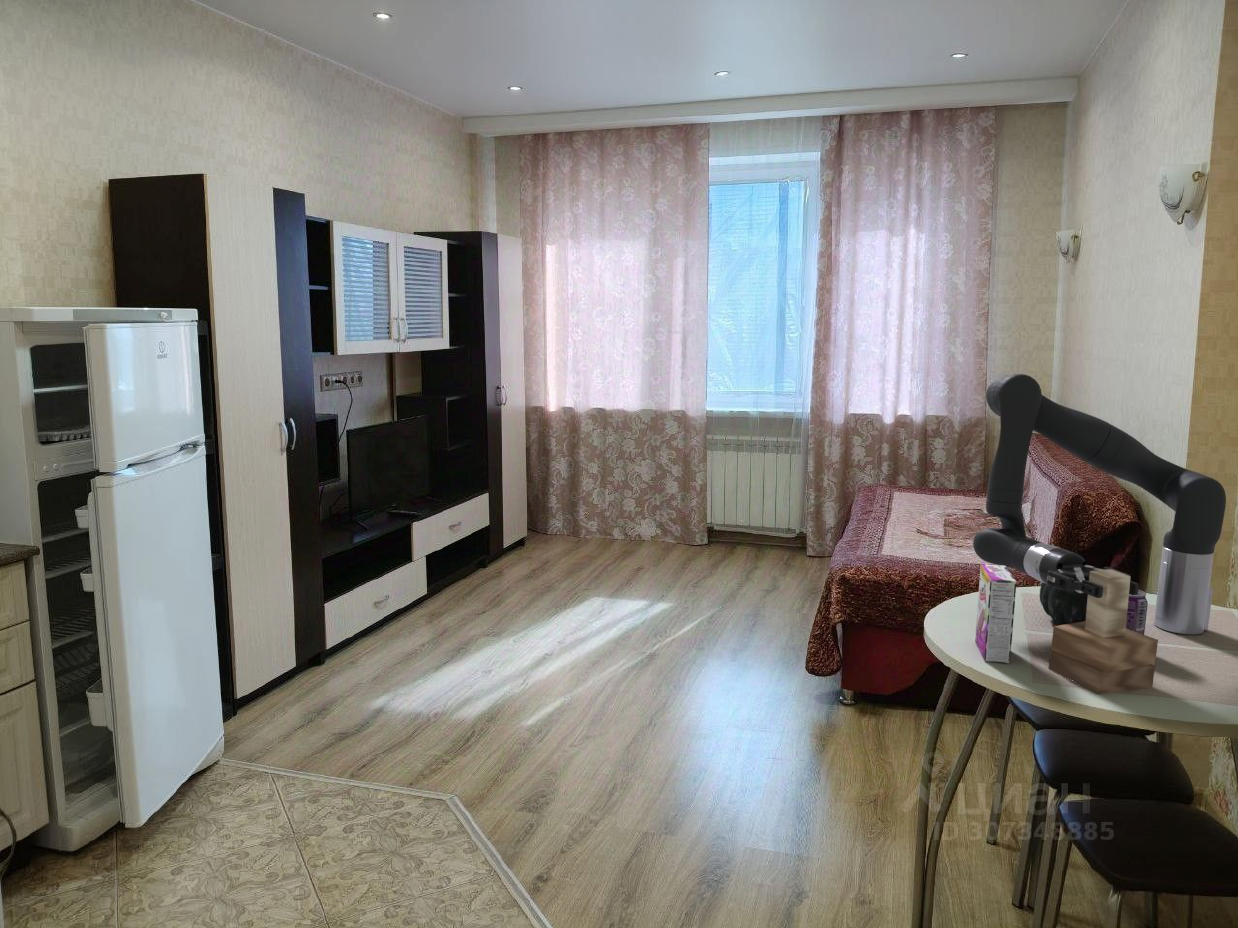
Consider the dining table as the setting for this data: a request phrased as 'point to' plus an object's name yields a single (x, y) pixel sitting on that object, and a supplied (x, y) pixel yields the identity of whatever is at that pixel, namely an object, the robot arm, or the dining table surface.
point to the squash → (1063, 604)
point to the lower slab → (1101, 675)
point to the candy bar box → (995, 613)
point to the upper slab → (1104, 648)
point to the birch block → (1108, 604)
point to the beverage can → (1137, 612)
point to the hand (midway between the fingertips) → (1119, 591)
